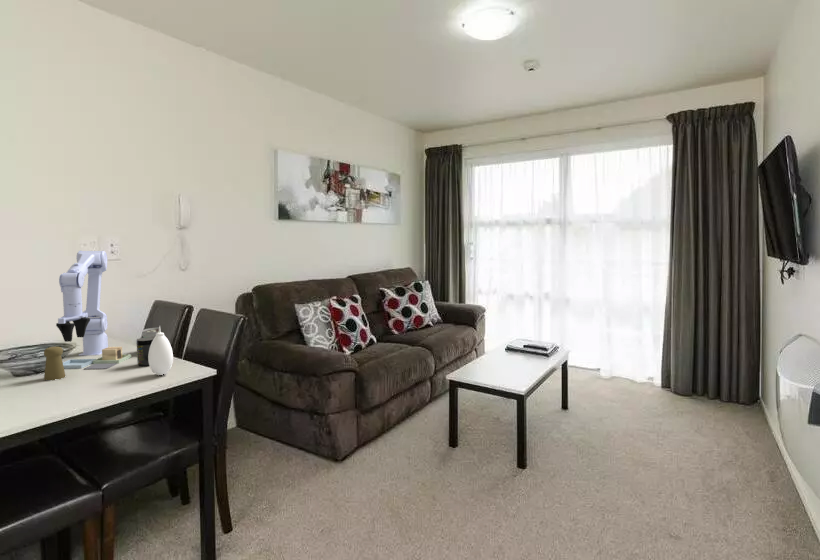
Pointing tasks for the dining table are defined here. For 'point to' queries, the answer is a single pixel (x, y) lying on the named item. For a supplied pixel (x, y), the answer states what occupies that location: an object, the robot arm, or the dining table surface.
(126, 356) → the sage tray
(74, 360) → the blue-grey tray
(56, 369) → the cork
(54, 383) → the dining table surface
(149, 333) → the food container
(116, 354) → the letter block
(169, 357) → the white air blower bulb
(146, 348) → the supplement container
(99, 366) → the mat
